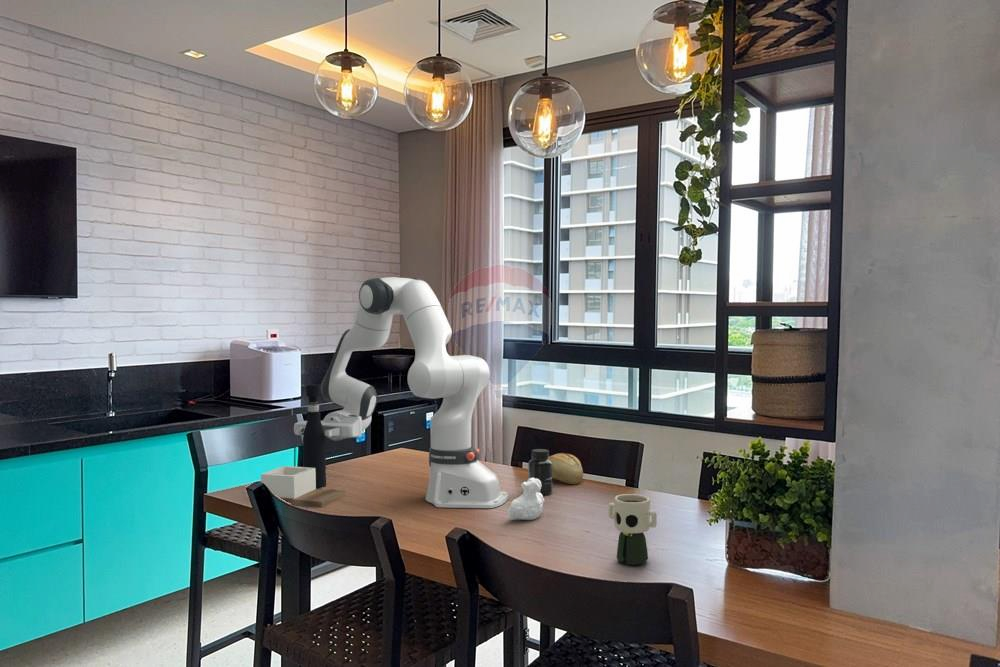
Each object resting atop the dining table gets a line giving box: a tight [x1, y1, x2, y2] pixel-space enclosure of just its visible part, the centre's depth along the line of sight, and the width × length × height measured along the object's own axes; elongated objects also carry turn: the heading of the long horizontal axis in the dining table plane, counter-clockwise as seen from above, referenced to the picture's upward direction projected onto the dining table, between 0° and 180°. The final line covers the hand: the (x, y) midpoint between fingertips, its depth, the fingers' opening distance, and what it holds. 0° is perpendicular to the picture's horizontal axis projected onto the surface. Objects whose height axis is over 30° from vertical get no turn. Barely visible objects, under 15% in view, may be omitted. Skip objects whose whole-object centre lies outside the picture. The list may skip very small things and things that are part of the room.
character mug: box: [608, 493, 658, 565], centre depth 141 cm, size 11×7×13 cm, turn 49°
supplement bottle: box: [527, 448, 554, 496], centre depth 196 cm, size 7×7×12 cm
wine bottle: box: [302, 384, 327, 489], centre depth 206 cm, size 6×6×30 cm
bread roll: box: [548, 452, 584, 485], centre depth 210 cm, size 10×15×8 cm, turn 41°
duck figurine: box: [507, 477, 545, 521], centre depth 171 cm, size 12×8×11 cm
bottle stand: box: [260, 465, 346, 508], centre depth 192 cm, size 20×12×8 cm, turn 73°
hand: (312, 433), depth 205 cm, fingers open, 8 cm apart
